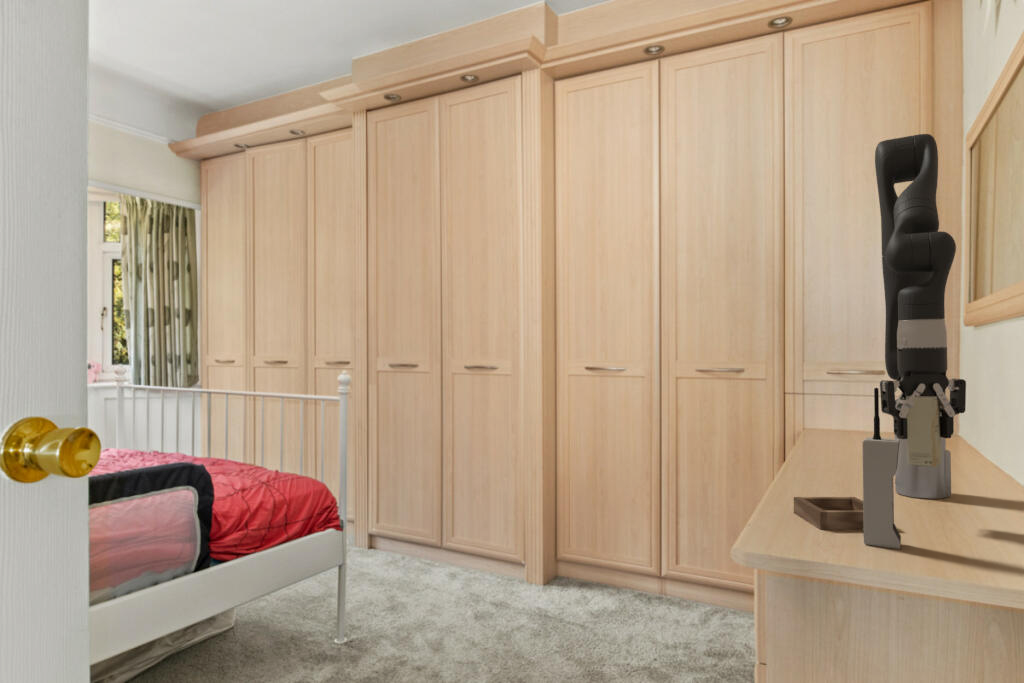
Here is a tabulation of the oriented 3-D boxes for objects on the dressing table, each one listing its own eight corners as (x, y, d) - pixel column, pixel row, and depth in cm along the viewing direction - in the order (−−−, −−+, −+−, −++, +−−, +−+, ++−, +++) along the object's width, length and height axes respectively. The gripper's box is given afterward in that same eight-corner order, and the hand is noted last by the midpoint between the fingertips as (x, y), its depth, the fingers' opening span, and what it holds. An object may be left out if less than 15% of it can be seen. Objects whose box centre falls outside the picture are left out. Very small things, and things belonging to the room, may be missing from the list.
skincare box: (935, 468, 112) (934, 397, 112) (906, 465, 115) (905, 396, 115) (941, 462, 117) (940, 394, 117) (912, 459, 120) (911, 393, 120)
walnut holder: (854, 512, 124) (854, 496, 124) (887, 529, 112) (887, 512, 112) (793, 512, 124) (793, 497, 124) (820, 529, 113) (820, 512, 113)
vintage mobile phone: (900, 550, 101) (897, 388, 101) (863, 544, 104) (861, 387, 104) (901, 543, 104) (899, 387, 104) (865, 539, 107) (863, 386, 107)
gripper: (948, 344, 119) (950, 434, 119) (869, 346, 120) (871, 435, 120) (977, 344, 112) (979, 440, 112) (892, 346, 112) (894, 442, 112)
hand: (923, 437), depth 116 cm, fingers closed on skincare box, 7 cm apart
